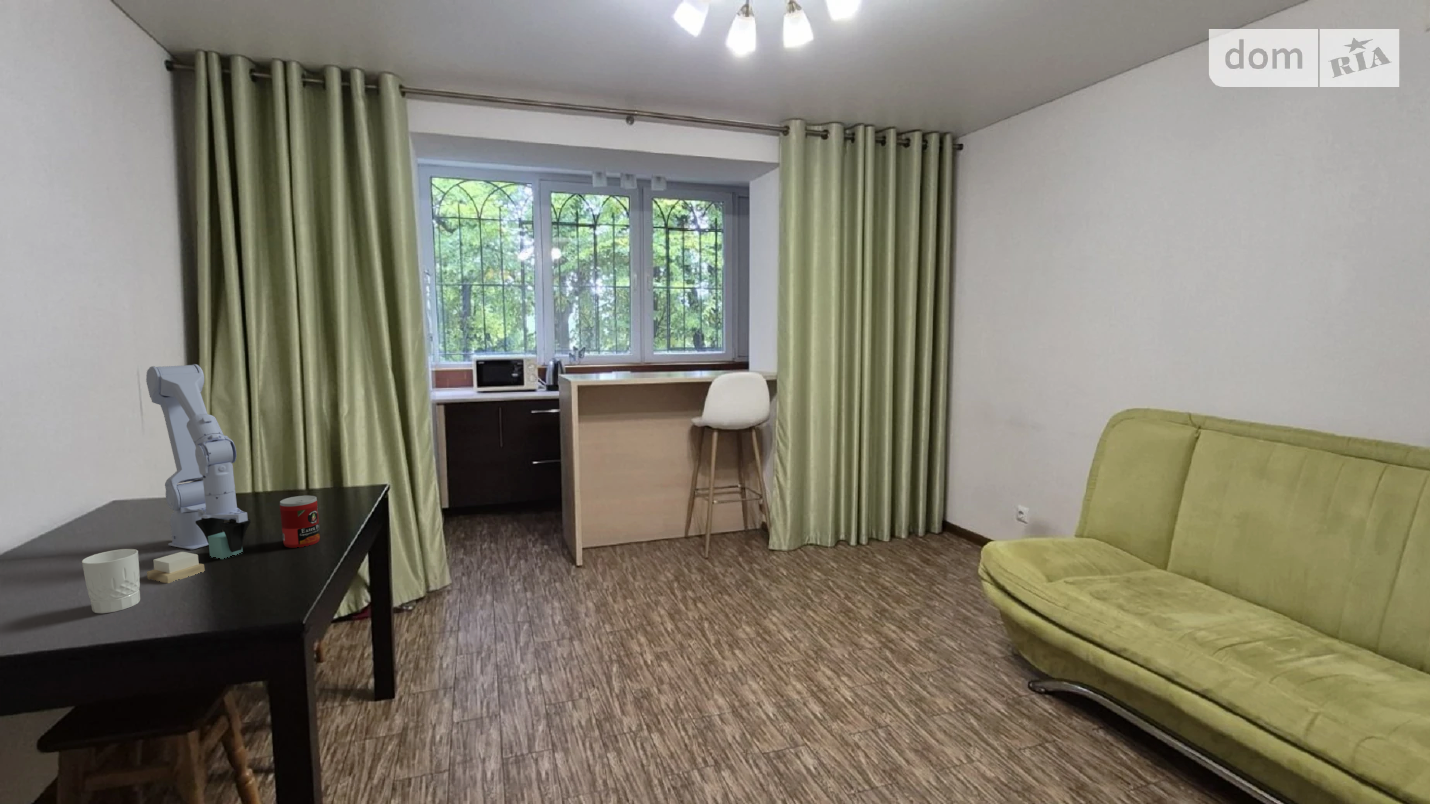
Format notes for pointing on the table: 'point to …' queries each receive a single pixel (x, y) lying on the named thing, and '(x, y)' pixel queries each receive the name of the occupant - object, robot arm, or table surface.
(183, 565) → the cream slab
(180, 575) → the oak slab
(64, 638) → the table surface
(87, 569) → the white cup
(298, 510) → the canned food
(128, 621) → the table surface
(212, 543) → the teal block
